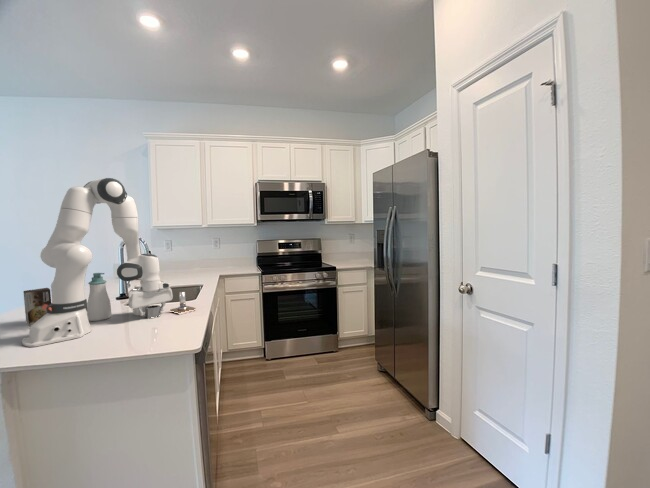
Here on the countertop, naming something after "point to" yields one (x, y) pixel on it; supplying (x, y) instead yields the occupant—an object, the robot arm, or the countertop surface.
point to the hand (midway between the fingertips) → (152, 313)
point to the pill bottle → (135, 310)
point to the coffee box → (36, 304)
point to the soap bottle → (98, 299)
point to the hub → (152, 311)
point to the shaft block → (182, 304)
